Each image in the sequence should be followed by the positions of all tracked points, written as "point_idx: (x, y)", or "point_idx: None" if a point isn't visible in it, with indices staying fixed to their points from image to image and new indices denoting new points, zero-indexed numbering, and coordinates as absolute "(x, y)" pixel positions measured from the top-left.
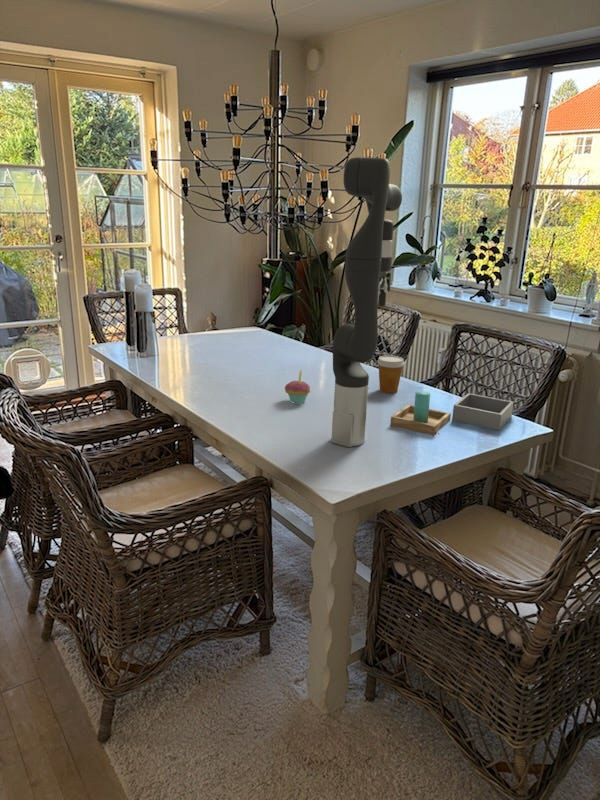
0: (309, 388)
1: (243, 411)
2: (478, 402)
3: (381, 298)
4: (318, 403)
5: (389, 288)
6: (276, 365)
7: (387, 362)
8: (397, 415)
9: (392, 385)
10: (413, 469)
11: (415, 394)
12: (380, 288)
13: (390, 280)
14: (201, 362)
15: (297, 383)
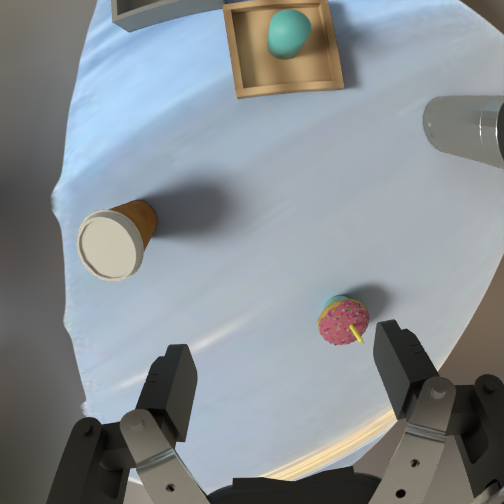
0: (334, 307)
1: (422, 327)
2: (122, 3)
3: (183, 401)
4: (321, 275)
5: (81, 437)
6: (196, 421)
7: (134, 240)
8: (323, 81)
9: (142, 207)
10: (455, 6)
11: (302, 41)
12: (193, 478)
13: (50, 493)
14: (269, 463)
15: (355, 327)
